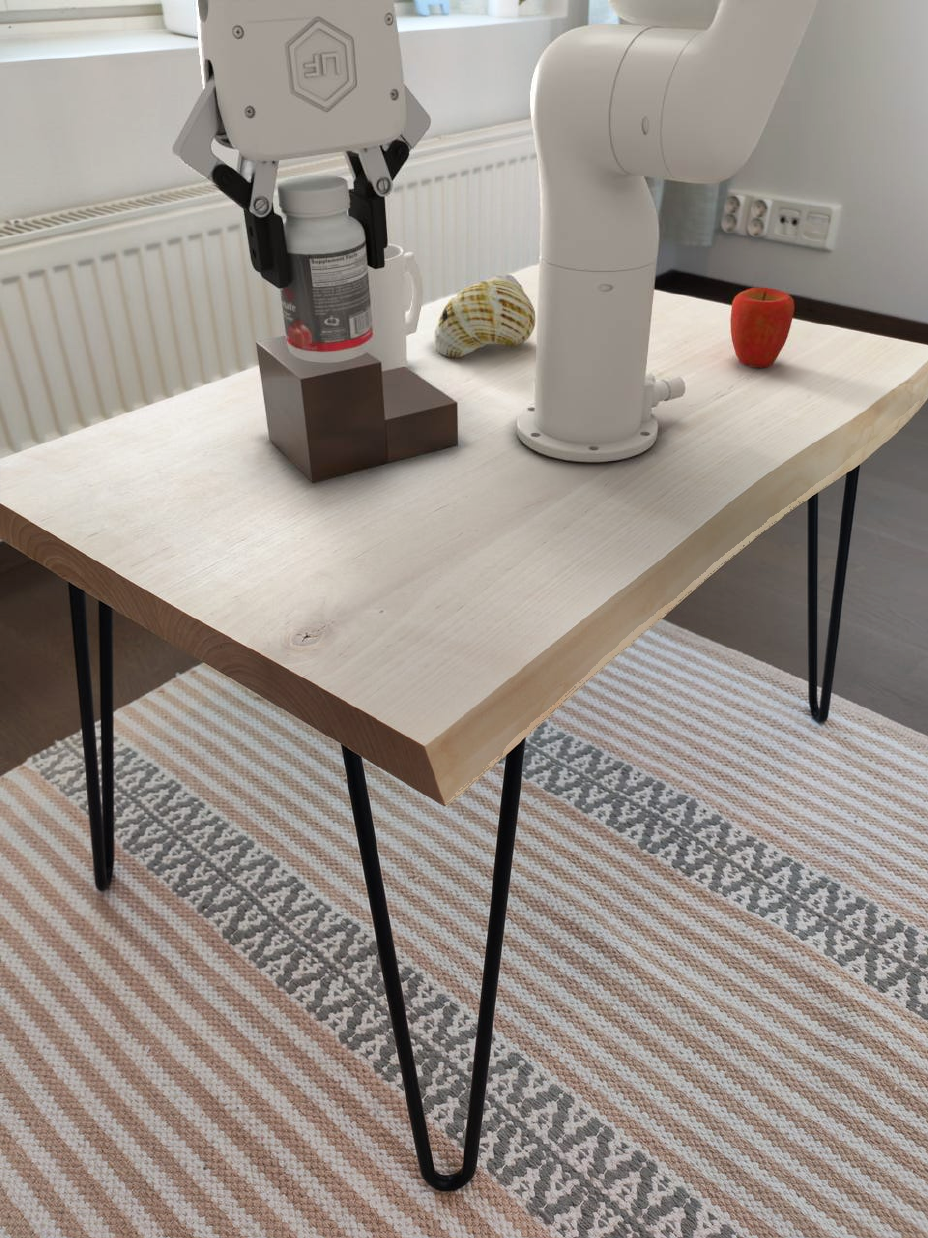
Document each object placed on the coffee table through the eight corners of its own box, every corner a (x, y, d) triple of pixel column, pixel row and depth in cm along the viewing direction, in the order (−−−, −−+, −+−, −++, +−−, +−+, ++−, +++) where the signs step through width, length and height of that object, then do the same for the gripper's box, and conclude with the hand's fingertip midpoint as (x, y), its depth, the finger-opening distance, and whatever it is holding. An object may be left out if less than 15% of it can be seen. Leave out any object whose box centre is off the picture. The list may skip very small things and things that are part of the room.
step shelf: (406, 406, 94) (402, 312, 89) (458, 444, 87) (457, 345, 82) (269, 438, 88) (255, 341, 83) (312, 482, 81) (300, 379, 76)
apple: (716, 352, 104) (726, 281, 100) (773, 351, 105) (786, 280, 100) (732, 374, 99) (743, 300, 95) (792, 373, 99) (806, 299, 95)
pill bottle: (275, 344, 62) (251, 179, 56) (352, 327, 64) (337, 166, 58) (307, 372, 58) (285, 198, 52) (388, 353, 60) (376, 183, 55)
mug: (372, 389, 97) (363, 265, 90) (330, 371, 101) (319, 251, 94) (445, 362, 103) (443, 244, 96) (403, 347, 107) (398, 232, 100)
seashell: (416, 351, 104) (431, 253, 102) (456, 365, 112) (470, 275, 111) (502, 361, 100) (519, 259, 98) (537, 375, 108) (553, 281, 107)
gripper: (129, -102, 42) (206, 319, 52) (471, -111, 49) (477, 262, 59) (85, -99, 47) (163, 283, 58) (400, -107, 54) (417, 235, 65)
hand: (322, 269), depth 58 cm, fingers closed on pill bottle, 5 cm apart
